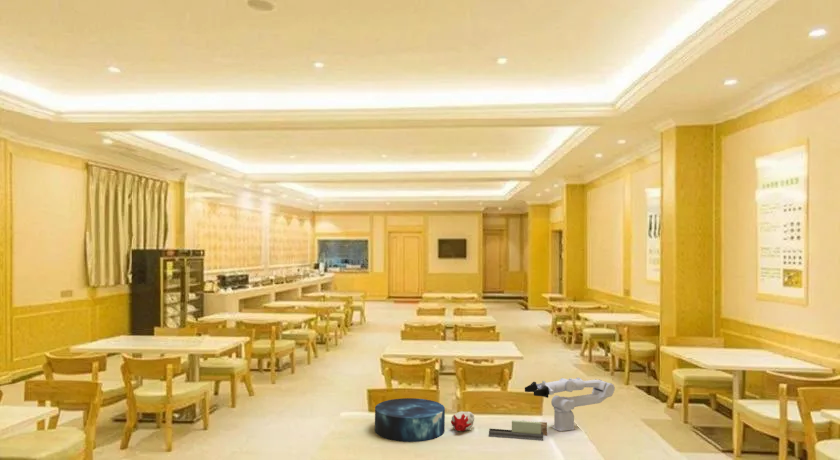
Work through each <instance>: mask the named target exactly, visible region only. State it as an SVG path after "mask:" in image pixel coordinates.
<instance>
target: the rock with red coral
mask: <svg viewBox="0 0 840 460" xmlns="http://www.w3.org/2000/svg"><path fill="white" fill-rule="evenodd" d="M474 422H475V414H474V413H473V412H471V411H458V412H455V413H454V414H453V415H452V416H451V421H450V423H451V426H452V428H453V429H454V430H455V431H456V432H457V431H459V432H466V431H468V432H469V431H471V429H472V428H473V425H474Z"/></svg>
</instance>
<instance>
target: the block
mask: <svg viewBox="0 0 840 460" xmlns="http://www.w3.org/2000/svg"><path fill="white" fill-rule="evenodd" d="M540 422H541V432H543V436H547V437H548V422H545V421H544V422H543V421H540Z"/></svg>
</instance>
